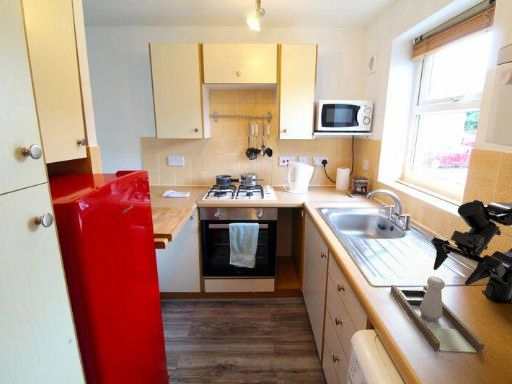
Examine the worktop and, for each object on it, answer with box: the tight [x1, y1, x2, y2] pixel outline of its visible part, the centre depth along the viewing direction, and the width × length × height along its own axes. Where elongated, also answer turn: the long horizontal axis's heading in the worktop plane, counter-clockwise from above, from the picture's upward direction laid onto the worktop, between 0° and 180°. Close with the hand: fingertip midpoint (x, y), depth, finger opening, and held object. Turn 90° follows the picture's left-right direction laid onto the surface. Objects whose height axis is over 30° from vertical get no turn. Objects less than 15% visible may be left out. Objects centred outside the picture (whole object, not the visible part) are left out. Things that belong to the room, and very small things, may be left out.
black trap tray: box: [397, 288, 426, 307], centre depth 92 cm, size 9×6×2 cm, turn 88°
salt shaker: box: [419, 276, 446, 323], centre depth 82 cm, size 6×6×13 cm
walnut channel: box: [390, 284, 485, 354], centre depth 84 cm, size 12×26×2 cm, turn 178°
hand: (449, 276), depth 84 cm, fingers open, 9 cm apart
